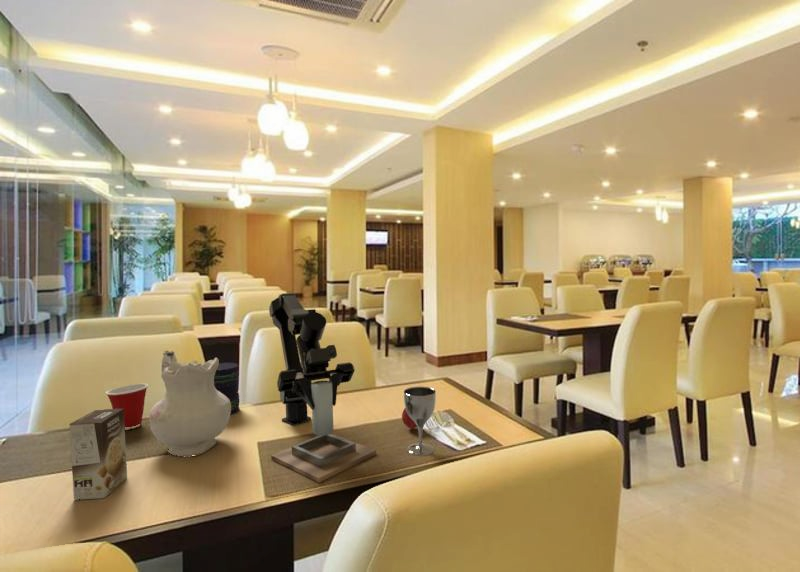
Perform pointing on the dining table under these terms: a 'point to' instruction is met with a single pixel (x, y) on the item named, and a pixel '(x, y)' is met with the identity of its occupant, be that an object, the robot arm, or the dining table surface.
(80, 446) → the coffee box
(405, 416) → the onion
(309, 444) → the collar board
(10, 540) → the dining table surface
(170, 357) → the ceramic pitcher
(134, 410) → the plastic cup
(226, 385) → the storage jar
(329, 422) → the ceramic canister
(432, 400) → the wine glass
